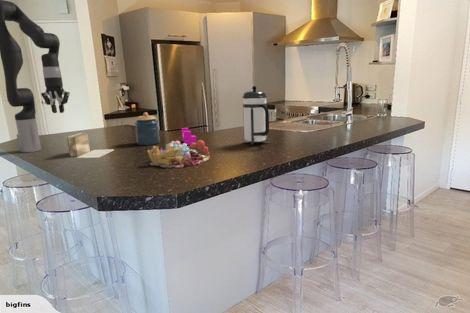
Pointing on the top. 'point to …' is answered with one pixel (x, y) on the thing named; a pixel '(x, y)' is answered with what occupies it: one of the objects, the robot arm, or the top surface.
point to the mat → (95, 153)
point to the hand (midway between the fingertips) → (58, 112)
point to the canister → (147, 130)
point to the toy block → (188, 136)
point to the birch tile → (78, 144)
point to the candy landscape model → (178, 154)
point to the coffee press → (255, 116)
